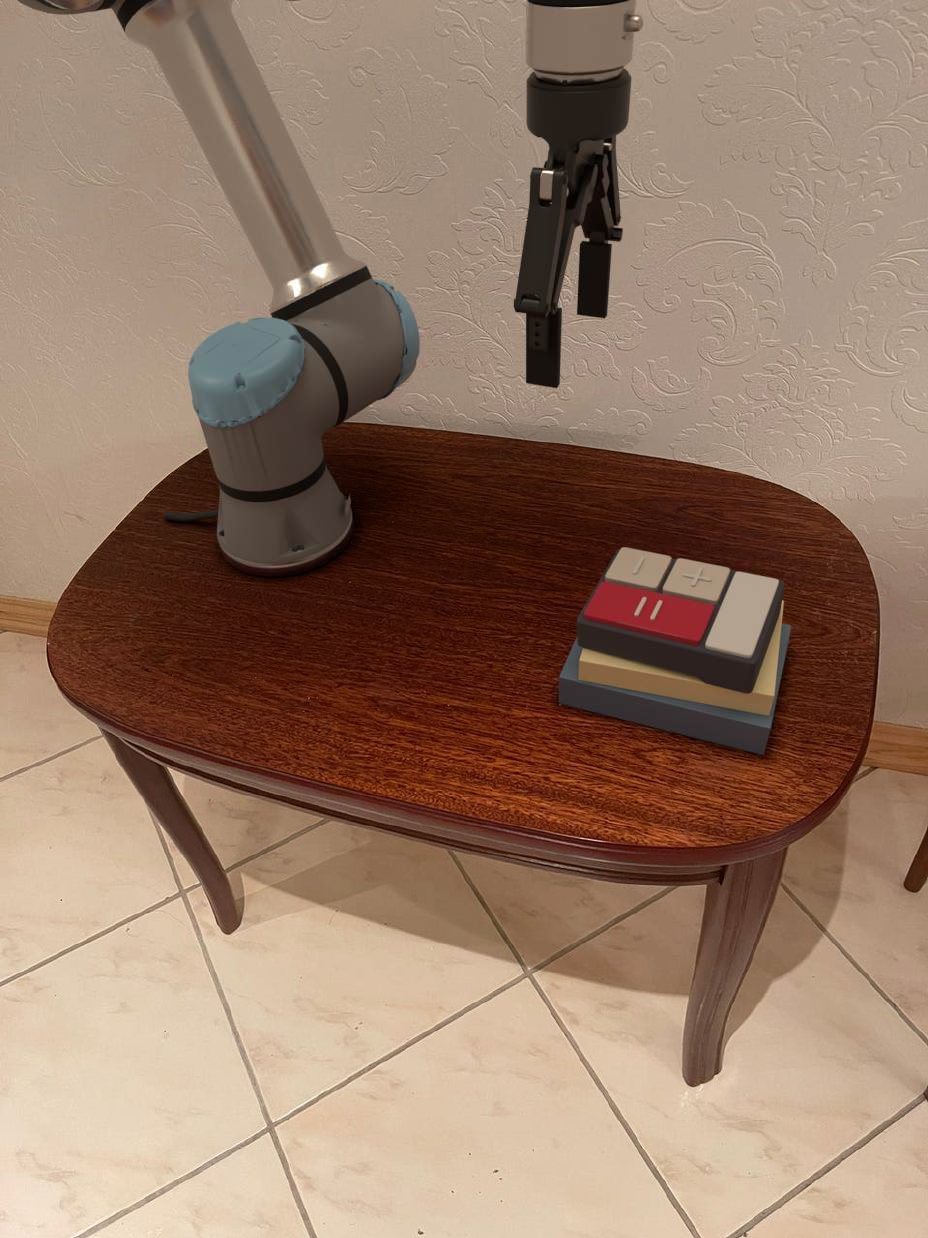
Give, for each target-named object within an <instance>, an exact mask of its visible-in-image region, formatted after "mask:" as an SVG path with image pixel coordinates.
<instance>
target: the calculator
mask: <svg viewBox="0 0 928 1238" xmlns="http://www.w3.org/2000/svg"><path fill="white" fill-rule="evenodd" d="M785 586H786V582H785V581H784V580H782V579H777V578H774V577H769V576H763V575H759V574H753V573H749V572H744V571H738V570H733V569H731V568H730V567H727V566H722V565H716V564H713V563H712V564H711V563H706V562H702V561H696V560H693V559H692V560H691V559H687V558H681V557H679V558H672V556H670V555H666V554H662V553H657V552H651V551H646V550H641V549H638V548H637V549H636V548H632V547H626V546H625V547H624V546H623V547H621V548H619V549H617V550H616V552H615V553H614V555H613V557H612V558H611V560H610V562H609V564H608V565H607V567H606V569H605V570H604V572H603V574H602V575H601V576H600V579H599V581H598V582H597V584H596V586H595V587H594V589H593V591H592V593H591V594H590V596H589V597H588V599H587V601H586V603H585V605H584V606H583V608H582V610H581V611H580V613H579V615H578V617H577V618H576V634H577V635H576V638H577V641H578V645H579V646H580V647H583V648H587V649H591V650H595V651H599V652H603V653H607V654H611V655H615V656H619V657H623V658H627V659H631V660H635V661H639V662H643V663H647V664H651V665H655V666H659V667H663V668H667V669H671V670H675V671H679V672H683V673H687V674H691V675H694V676H696V677H697V678H699V679H700V680H701V681H703V682H704V683H706V684H710V685H714V686H718V687H722V688H725V689H729V690H733V691H737V692H741V693H746V694H749V693H751V692H752V691H753V689H754V686H755V683H756V680H757V677H758V674H759V672H760V669H761V666H762V663H763V660H764V657H765V655H766V652H767V649H768V646H769V643H770V640H771V638H772V635H773V632H774V629H775V626H776V623H777V621H778V618H779V615H780V611H781V605H782V600H783V599H784V593H785Z"/></svg>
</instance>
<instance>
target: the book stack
mask: <svg viewBox="0 0 928 1238" xmlns="http://www.w3.org/2000/svg"><path fill="white" fill-rule="evenodd" d="M784 606H785V600H783V599H782V605H781V611H780V615H779V618H778V621H777V623H776V626H775V629H774V632H773V635H772V638H771V640H770V643H769V646H768V649H767V652H766V655H765V657H764V660H763V663H762V666H761V669H760V672H759V674H758V677H757V680H756V683H755V686H754V689H753V691H752V692H751V693H749V694H746V693H741V692H737V691H733V690H729V689H725V688H722V687H718V686H714V685H710V684H706V683H704V682H703V681H701V680H700V679H699V678H697V677H696V676H694V675H691V674H687V673H683V672H679V671H675V670H671V669H667V668H663V667H659V666H655V665H651V664H647V663H643V662H639V661H635V660H631V659H627V658H623V657H619V656H615V655H611V654H607V653H603V652H599V651H595V650H591V649H587V648H583V647H580V646H579V645H578V641H577V637H576V638H575V640H574V642H573V645H572V647H571V649H570V651H569V654H568V656H567V658H566V659H565V663H564V665H563V667H562V670H561V671H560V674H559V676H558V704H559V705H565V706H569V707H571V708H575V709H580V710H584V711H587V712H592V713H594V714H595V713H596V714H599V715H603V716H607V717H610V718H614V719H615V718H616V719H619V720H623V721H626V722H630V723H634V724H637V725H638V724H639V725H643V726H647V727H650V728H654V729H659V730H663V731H666V732H671V733H674V734H678V735H682V736H685V737H690V738H694V739H698V740H702V741H706V742H710V743H714V744H717V745H721V746H725V747H729V748H733V749H736V750H741V751H746V752H748V753H753V754H757V755H759V756H764V755H765V752H766V749H767V745H768V741H769V737H770V733H771V730H772V724H773V720H774V715H775V709H776V705H777V700H778V696H779V691H780V685H781V680H782V676H783V671H784V665H785V661H786V655H787V650H788V645H789V641H790V636H791V630H792V625H791V624H787V623H783V616H784Z"/></svg>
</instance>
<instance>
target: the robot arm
mask: <svg viewBox="0 0 928 1238" xmlns="http://www.w3.org/2000/svg"><path fill="white" fill-rule="evenodd" d="M16 1H17V2H18V3H20V4H21V5H24V6H26V7H28V8H30V9H32V10H36V11H39V12H42V13H45V14H51V15H59V16H61V15H63V16H64V15H66V16H67V15H69V16H70V15H78V14H79V15H80V14H86V13H94V12H99V11H102V10H104V11H105V10H109V9H111V10H112V11H113V13H114V16H116V19H117V20H118V23H119V24H120V26H121V28H122V30H123V32H124V34H125V36H126V37H127V39H128V40H129V41H130V42H132V43H134V44H135V45H138V46H141V47H143V48H145V49H148V50H149V51H150V52H152V54H153V56H154V58H155V60H156V62H157V63H158V66H159V68H160V70H161V71H162V74H163V75H164V78H165V79H166V82H167V83H168V86H169V87H170V89H171V91H172V93H173V95H174V97H175V99H176V101H177V103H178V105H179V107H180V109H181V111H182V113H183V115H184V117H185V118H186V120H187V123H188V125H189V126H190V128H191V130H192V132H193V134H194V136H195V138H196V140H197V142H198V144H199V146H200V148H201V150H202V152H203V154H204V156H205V158H206V159H207V162H208V164H209V165H210V168H211V169H212V172H213V173H214V175H215V177H216V179H217V181H218V183H219V185H220V187H221V189H222V191H223V193H224V195H225V197H226V199H227V201H228V203H229V205H230V206H231V209H232V211H233V213H234V214H235V217H236V218H237V221H238V222H239V224H240V227H241V228H242V230H243V232H244V234H245V236H246V238H247V240H248V242H249V244H250V246H251V248H252V250H253V252H254V254H255V256H256V257H257V259H258V261H259V264H260V266H261V267H262V270H263V271H264V273H265V276H266V277H267V279H268V281H269V283H270V285H271V287H272V297H271V301H270V304H269V305H270V306H269V309H268V312H269V314H270V316H271V317H269V316H268V317H266V316H265V317H264V316H263V317H254V318H249V319H247V321H245V322H243V323H241V322H240V321H236V322H234V323H231V324H228V325H226V326H224V327H221V328H220V329H218V330H216V331H215V332H213V333H212V334H210V335H209V336H207V337H206V338H205V339H204V340H203V341H202V342H201V343H200V344H199V345H198V346H197V347H196V348H195V349H194V351H193V353H192V355H191V357H190V359H189V363H188V370H187V377H188V382H189V383H188V384H189V387H190V388H189V389H190V392H191V401H192V402H191V403H192V407H193V409H194V412H195V414H196V416H197V417H198V420H199V423H200V427H201V430H202V433H203V437H204V440H205V444H206V446H207V450H208V453H209V456H210V460H211V463H212V466H213V471H214V473H215V476H216V480H217V483H218V486H219V499H218V500H219V501H218V509H215V510H214V509H213V510H205V511H198V512H191V513H178V512H171V511H165V512H164V513H163V518H164V519H165V520H168V521H169V520H170V521H175V522H196V521H200V520H201V521H202V520H210V519H217V524H216V525H217V527H216V538H217V542H218V545H219V548H220V551H221V554H222V557H223V558H224V560H225V561H226V562H227V563H228V564H229V565H230V566H231V567H234V569H237V570H238V571H241V572H242V573H246V574H249V575H254V576H260V577H270V578H271V577H286V576H293V575H298V574H301V573H305V572H309V571H311V570H314V569H316V568H319V567H321V566H322V565H325V564H326V563H328V562H330V561H331V560H333V559H334V558H336V557H337V556H338V555H339V554H340V553H341V552H343V551H344V549H345V548H346V547H347V546H348V545H349V543H350V541H351V540H352V538H353V535H354V531H355V522H354V517H353V511H352V507H351V503H352V500H351V499H352V498H351V494H349V495H348V498H346V497H345V495H344V494H343V493H342V492H341V491H340V489H339V486H338V484H337V483H336V481H335V479H334V478H333V476H332V474H331V472H330V471H329V469H328V467H327V463H326V462H327V461H326V457H325V453H324V452H325V451H324V448H323V443H322V442H323V441H322V437H323V435H325V434H326V433H328V432H330V431H331V430H333V429H334V428H336V427H338V426H339V425H341V424H343V423H345V422H346V421H347V420H349V419H350V418H352V417H354V416H355V415H357V414H358V413H360V412H361V411H364V409H366V408H368V407H370V406H371V405H373V404H374V403H376V402H378V401H381V400H383V399H386V398H388V397H389V396H390V395H392V393H393V392H395V390H396V389H397V388H399V387H400V386H402V385H403V384H404V383H405V382H407V381H408V380H409V379H410V378H411V376H412V375H413V373H414V372H415V370H416V367H417V360H418V358H419V357H420V356H419V355H420V349H421V339H420V331H419V327H418V322H417V319H416V316H415V313H414V311H413V309H412V307H411V305H410V304H409V302H408V300H407V298H406V297H405V296H404V294H402V292H401V291H400V290H395V287H394V286H393V285H392V284H391V283H389V282H387V281H385V280H381V279H374V278H373V276H372V274H371V272H370V270H369V267H368V265H367V263H366V262H365V261H362V260H359V259H357V258H355V257H353V256H351V255H349V254H348V253H346V252H345V250H344V247H343V245H342V243H341V241H340V239H339V237H338V235H337V233H336V231H335V228H334V226H333V224H332V222H331V220H330V218H329V216H328V213H327V211H326V210H325V207H324V205H323V203H322V201H321V199H320V197H319V194H318V192H317V190H316V188H315V186H314V184H313V182H312V179H311V177H310V175H309V173H308V171H307V169H306V167H305V165H304V162H303V161H302V158H301V157H300V154H299V152H298V149H297V148H296V146H295V143H294V142H293V139H292V137H291V135H290V133H289V130H288V129H287V127H286V125H285V123H284V120H283V119H282V116H281V114H280V112H279V109H278V108H277V106H276V104H275V101H274V100H273V97H272V94H271V92H270V91H269V88H268V86H267V84H266V82H265V80H264V78H263V76H262V74H261V71H260V69H259V67H258V65H257V63H256V61H255V59H254V57H253V55H252V52H251V51H250V48H249V46H248V44H247V42H246V40H245V37H244V36H243V33H242V31H241V30H240V29H241V28H240V27H239V25H238V23H237V21H236V18H235V17H234V14H233V11H232V6H233V3H234V0H16ZM298 1H299V2H300V0H286V2H298ZM525 3H526V7H525V9H526V10H525V11H526V12H525V14H526V15H525V63H526V65H527V67H529V68H530V69H531V70H532V72H531V73H530V74H529V76H528V77H527V79H526V94H525V95H526V100H525V101H526V105H525V107H526V110H525V111H526V113H525V114H526V119H525V120H526V128H527V130H528V131H529V133H531V134H532V135H533V136H534V137H536V138H541V139H543V140H544V141H545V142H546V143H547V145H548V151H547V159H546V160H545V162H544V164H543V167H535V166H533V167H532V168H531V170H530V171H531V172H530V174H529V198H528V199H529V200H528V201H529V203H528V210H527V216H526V224H525V231H524V237H523V243H522V251H521V258H520V264H519V271H518V278H517V286H516V291H515V292H516V293H515V298H514V299H513V309H514V312H515V313H518V314H525V384H528V385H534V386H541V387H545V388H552V389H558V388H559V386H560V384H561V358H562V355H561V354H562V325H563V324H562V322H563V308H562V307H559V301H560V297H561V293H562V289H563V283H564V280H565V276H566V270H567V266H568V262H569V257H570V253H571V248H572V244H573V240H574V236H575V232H576V229H577V228H578V227H579V226H580V228H581V230H582V234H583V237H584V239H588V240H582V241H580V243H579V255H578V275H577V277H578V278H577V299H576V300H577V302H576V303H577V305H576V316H582V317H590V318H597V319H598V318H599V319H606V317H608V308H609V295H610V294H609V292H610V280H611V279H610V278H611V265H612V264H611V263H612V252H613V251H612V249H613V244H612V243H609V242H616V243H620V242H622V239H623V235H624V234H623V233H624V228H623V227H619V226H620V224H621V220H622V215H621V214H622V213H621V200H620V187H619V186H620V185H619V174H618V161H617V136H619V134H622V132H624V131H625V130H626V128H627V126H628V124H629V118H630V105H631V104H630V103H631V92H632V91H631V90H632V89H631V88H632V75H631V74H630V72H629V71H628V70H627V69H626V68H624V67H626V66H628V65H629V64H630V63H631V61H632V60H633V53H634V41H635V40H634V39H635V33H636V32H640V31H641V30H642V28H643V26H644V20H643V19H644V18H643V16H642V15H640V14H635V13H636V12H635V10H636V8H637V0H526V2H525Z"/></svg>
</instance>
